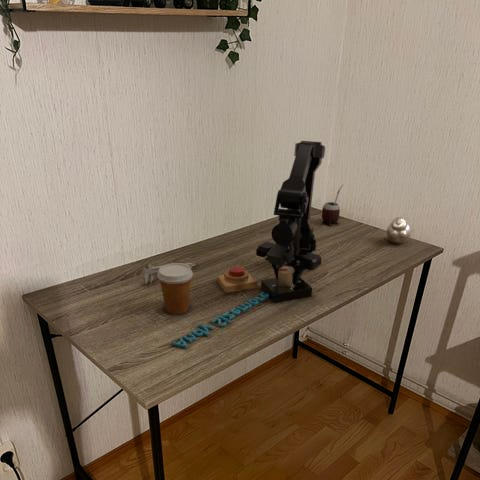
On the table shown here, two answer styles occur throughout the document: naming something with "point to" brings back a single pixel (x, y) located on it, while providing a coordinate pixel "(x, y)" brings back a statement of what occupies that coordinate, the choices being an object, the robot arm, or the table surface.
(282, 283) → the knob
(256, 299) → the nameplate
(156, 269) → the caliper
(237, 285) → the button block
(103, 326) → the table surface
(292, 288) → the dial console
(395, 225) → the silver spiral shell
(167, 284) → the disposable coffee cup
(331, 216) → the mate gourd
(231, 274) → the button
